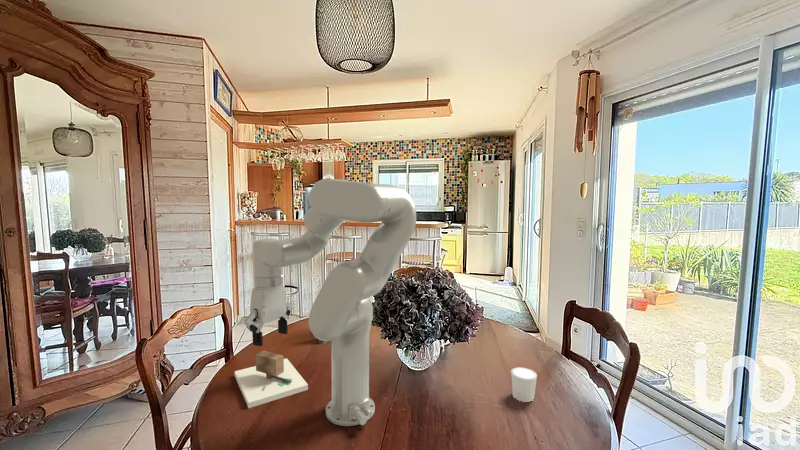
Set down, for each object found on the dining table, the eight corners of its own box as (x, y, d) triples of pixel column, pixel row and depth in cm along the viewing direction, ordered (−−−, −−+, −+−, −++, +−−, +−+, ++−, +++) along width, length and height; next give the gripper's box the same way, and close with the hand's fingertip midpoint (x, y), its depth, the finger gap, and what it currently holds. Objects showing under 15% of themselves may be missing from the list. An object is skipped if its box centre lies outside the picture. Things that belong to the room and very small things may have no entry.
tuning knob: (256, 376, 104) (255, 354, 103) (263, 371, 106) (263, 350, 106) (287, 385, 99) (286, 362, 98) (294, 380, 101) (294, 358, 101)
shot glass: (519, 405, 93) (520, 380, 92) (505, 392, 100) (506, 368, 99) (541, 402, 95) (542, 377, 94) (526, 388, 101) (527, 365, 101)
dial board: (307, 389, 100) (307, 384, 100) (248, 408, 91) (248, 402, 91) (286, 362, 116) (286, 357, 116) (234, 376, 107) (234, 370, 107)
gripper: (280, 275, 111) (282, 327, 112) (233, 287, 95) (237, 348, 96) (298, 276, 107) (301, 330, 108) (253, 289, 92) (256, 352, 93)
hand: (271, 339), depth 102 cm, fingers open, 9 cm apart
